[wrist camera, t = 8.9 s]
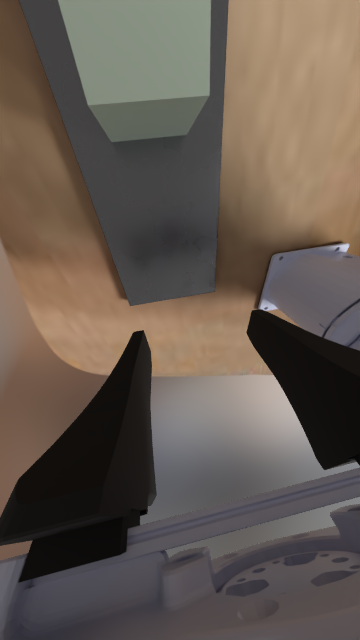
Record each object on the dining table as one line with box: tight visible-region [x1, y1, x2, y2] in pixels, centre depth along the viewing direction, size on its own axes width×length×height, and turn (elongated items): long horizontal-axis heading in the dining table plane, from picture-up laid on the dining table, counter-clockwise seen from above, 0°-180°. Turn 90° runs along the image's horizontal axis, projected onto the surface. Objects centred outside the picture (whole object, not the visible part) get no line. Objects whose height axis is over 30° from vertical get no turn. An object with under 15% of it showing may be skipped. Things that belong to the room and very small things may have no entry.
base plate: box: [19, 0, 229, 306], centre depth 11 cm, size 10×20×4 cm, turn 6°
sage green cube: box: [58, 0, 211, 142], centre depth 7 cm, size 5×5×5 cm
